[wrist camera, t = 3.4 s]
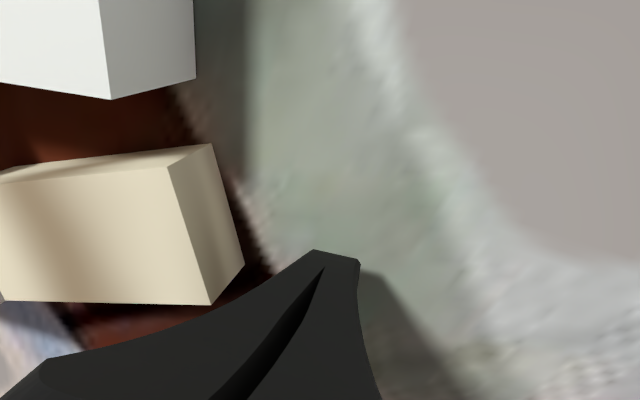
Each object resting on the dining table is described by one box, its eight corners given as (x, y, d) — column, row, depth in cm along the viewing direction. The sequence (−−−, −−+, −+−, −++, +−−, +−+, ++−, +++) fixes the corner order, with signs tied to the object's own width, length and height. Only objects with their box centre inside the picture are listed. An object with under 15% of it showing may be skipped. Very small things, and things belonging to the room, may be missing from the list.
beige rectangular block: (217, 139, 12) (166, 166, 10) (249, 258, 14) (210, 305, 12) (21, 163, 15) (-53, 189, 13) (65, 261, 16) (5, 300, 14)
